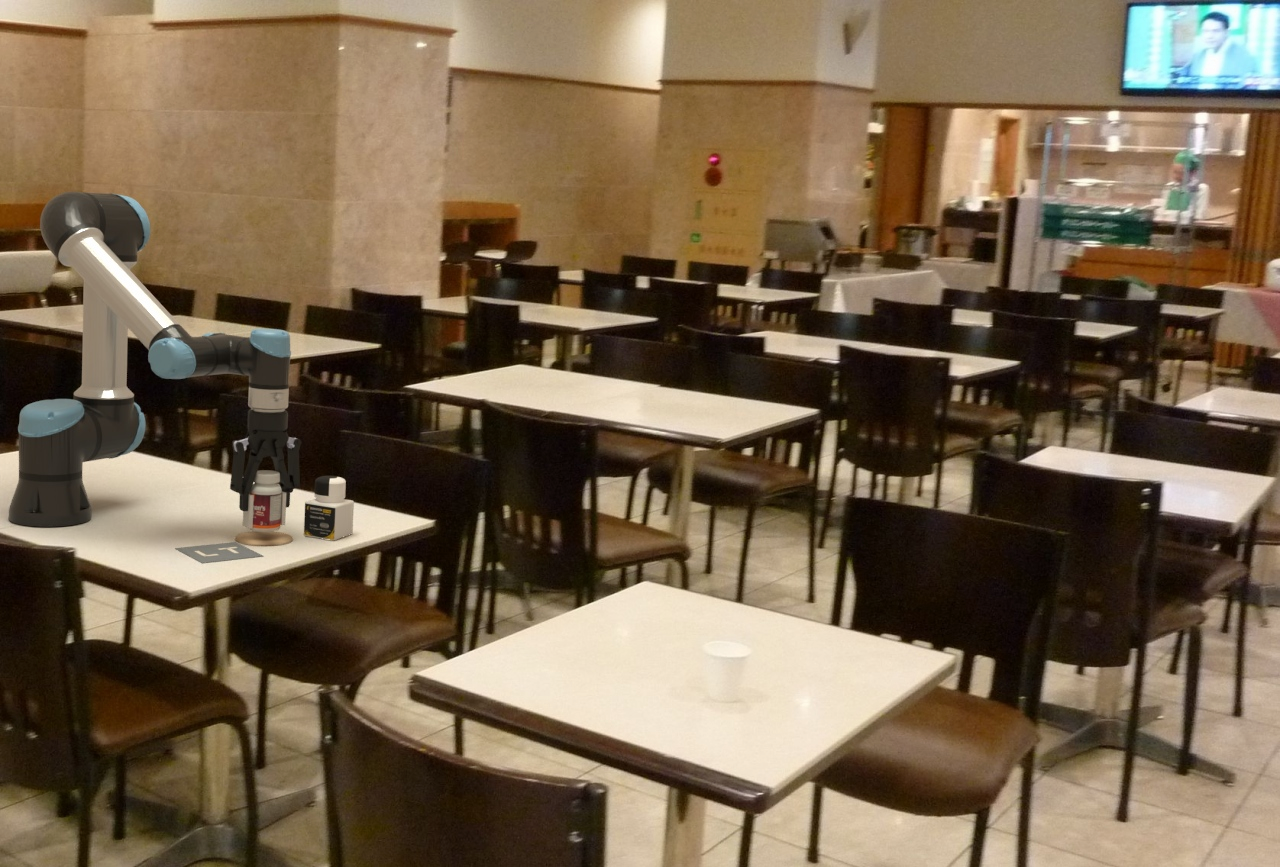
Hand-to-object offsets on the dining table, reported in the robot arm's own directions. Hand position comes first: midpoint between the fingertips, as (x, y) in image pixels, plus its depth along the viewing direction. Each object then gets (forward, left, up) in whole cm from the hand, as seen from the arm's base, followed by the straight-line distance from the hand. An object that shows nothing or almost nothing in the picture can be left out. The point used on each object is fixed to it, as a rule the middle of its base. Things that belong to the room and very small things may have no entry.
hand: (264, 525), depth 270 cm
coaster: (0, 0, -3) cm, 3 cm away
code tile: (-12, -6, -3) cm, 14 cm away
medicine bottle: (+13, -2, -3) cm, 14 cm away
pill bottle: (0, 0, -1) cm, 1 cm away
